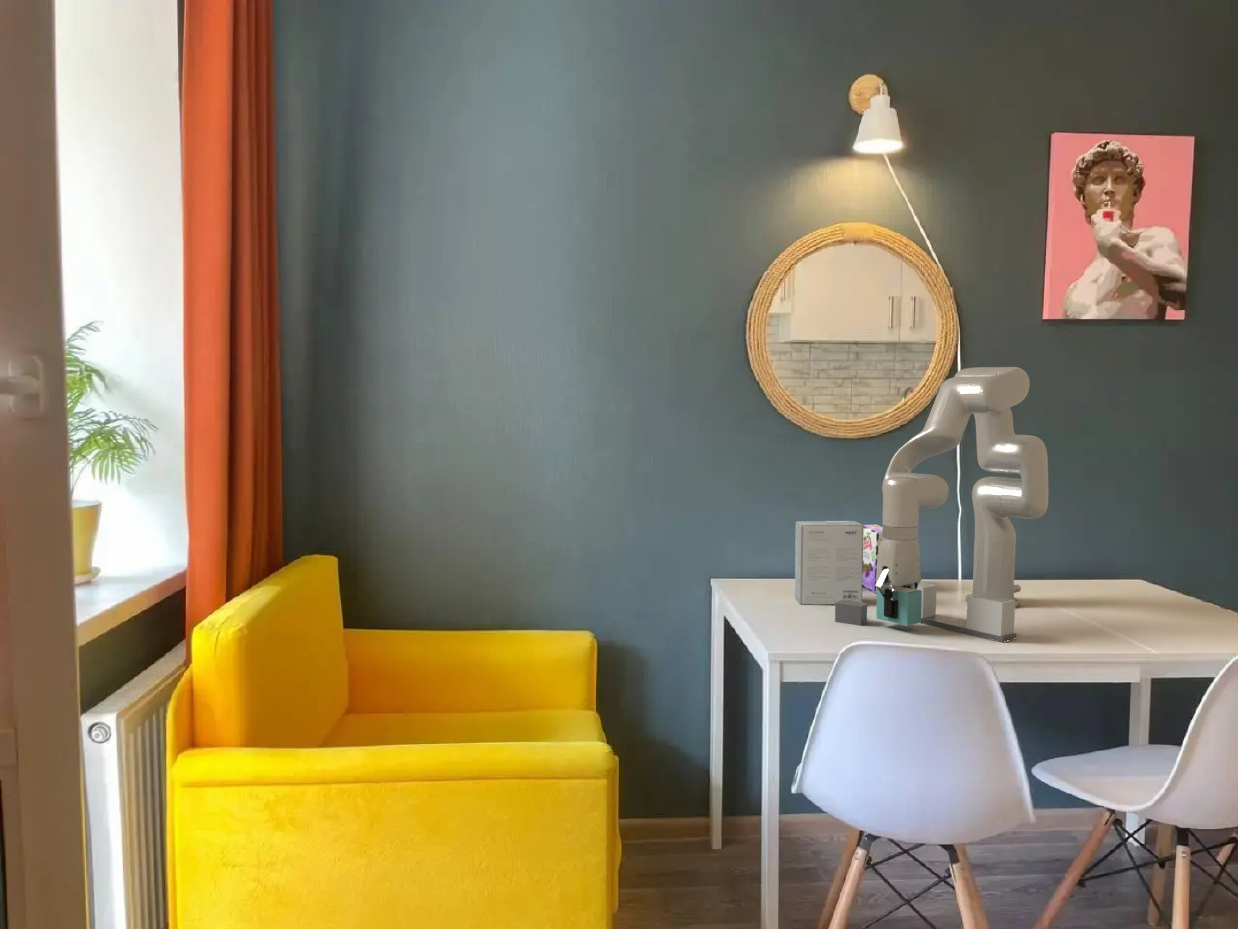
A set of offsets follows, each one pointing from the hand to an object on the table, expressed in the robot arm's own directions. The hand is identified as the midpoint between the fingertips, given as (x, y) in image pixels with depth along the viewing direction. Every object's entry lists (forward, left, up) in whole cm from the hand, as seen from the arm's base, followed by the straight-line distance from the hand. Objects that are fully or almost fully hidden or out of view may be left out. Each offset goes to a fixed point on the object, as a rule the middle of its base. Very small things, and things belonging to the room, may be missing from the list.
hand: (898, 614), depth 201 cm
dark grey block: (+4, -10, -3) cm, 11 cm away
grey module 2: (-11, +15, -2) cm, 19 cm away
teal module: (0, 0, -1) cm, 1 cm away
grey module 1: (-11, -4, -2) cm, 12 cm away
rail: (-11, +6, -3) cm, 13 cm away
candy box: (-32, -31, -4) cm, 45 cm away
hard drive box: (-8, -27, -4) cm, 28 cm away
